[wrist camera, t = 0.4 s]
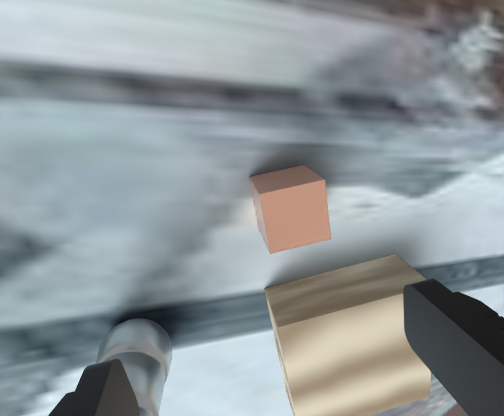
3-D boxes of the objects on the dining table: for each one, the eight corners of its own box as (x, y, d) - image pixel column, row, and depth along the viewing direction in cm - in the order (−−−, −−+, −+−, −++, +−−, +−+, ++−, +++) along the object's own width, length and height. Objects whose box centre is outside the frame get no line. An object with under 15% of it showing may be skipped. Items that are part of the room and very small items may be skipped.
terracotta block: (248, 176, 28) (259, 194, 23) (303, 164, 28) (324, 179, 24) (258, 228, 30) (270, 253, 25) (310, 215, 30) (330, 238, 26)
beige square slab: (263, 286, 33) (277, 327, 27) (393, 252, 34) (433, 285, 28) (284, 384, 38) (299, 436, 32) (396, 352, 39) (430, 396, 33)
